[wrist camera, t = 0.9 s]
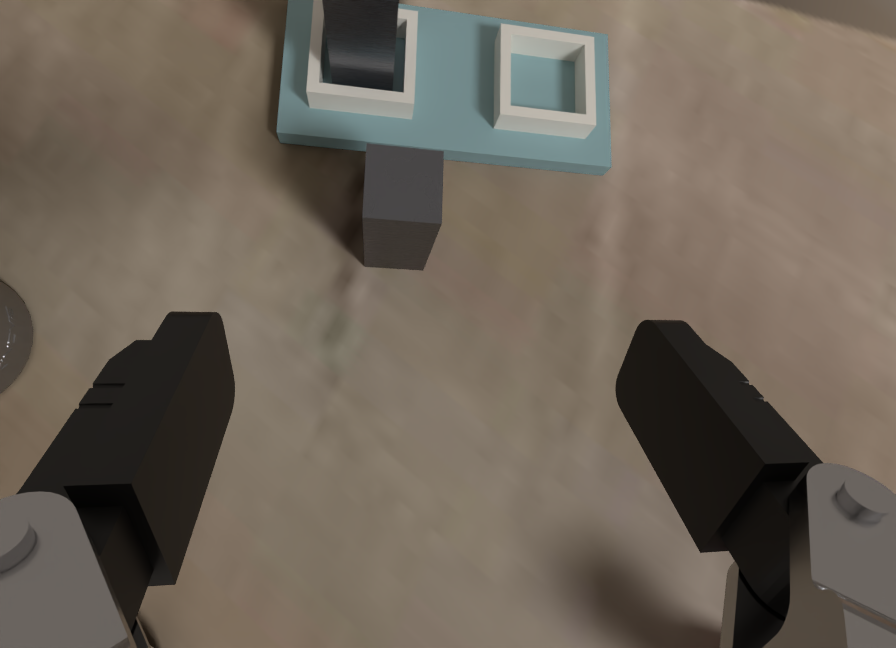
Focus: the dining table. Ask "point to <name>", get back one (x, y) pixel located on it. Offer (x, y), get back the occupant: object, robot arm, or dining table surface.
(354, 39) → the seated billet
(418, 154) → the loose billet
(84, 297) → the dining table surface
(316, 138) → the pallet
